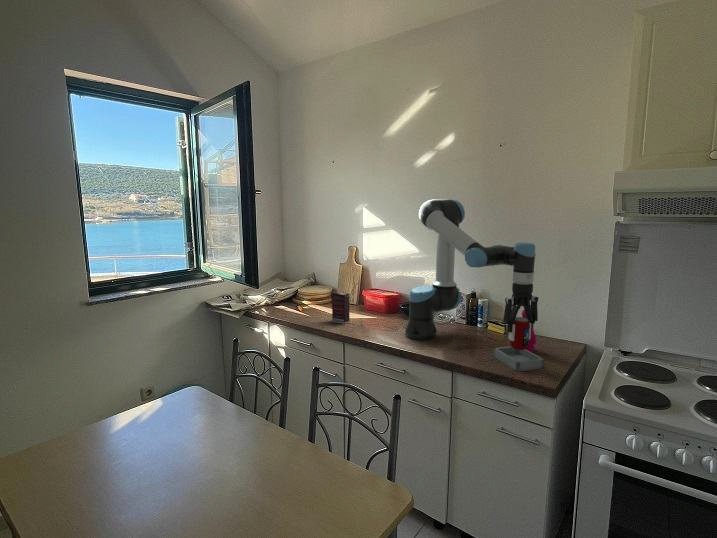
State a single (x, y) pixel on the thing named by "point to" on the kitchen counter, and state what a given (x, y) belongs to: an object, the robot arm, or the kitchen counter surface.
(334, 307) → the supplement box
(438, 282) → the robot arm
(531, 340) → the pepper mill
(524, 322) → the beverage can
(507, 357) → the tray
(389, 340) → the kitchen counter surface
